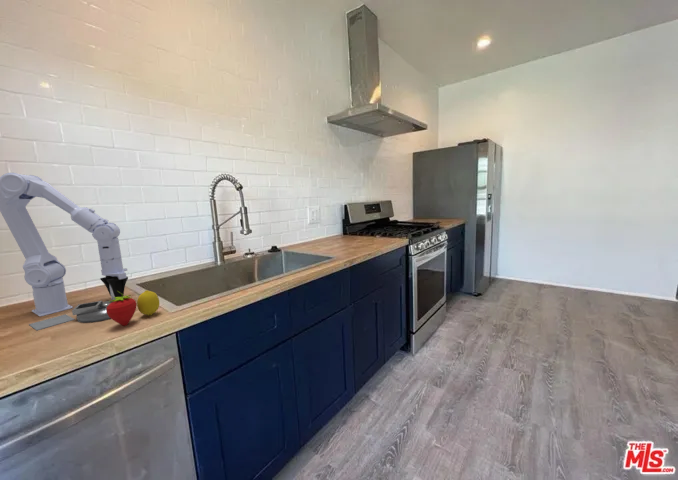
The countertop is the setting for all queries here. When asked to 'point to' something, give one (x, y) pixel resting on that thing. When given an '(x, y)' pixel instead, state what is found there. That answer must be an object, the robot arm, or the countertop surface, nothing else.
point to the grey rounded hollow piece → (91, 311)
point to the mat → (51, 322)
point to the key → (111, 293)
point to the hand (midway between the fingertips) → (117, 296)
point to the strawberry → (121, 309)
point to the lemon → (148, 303)
